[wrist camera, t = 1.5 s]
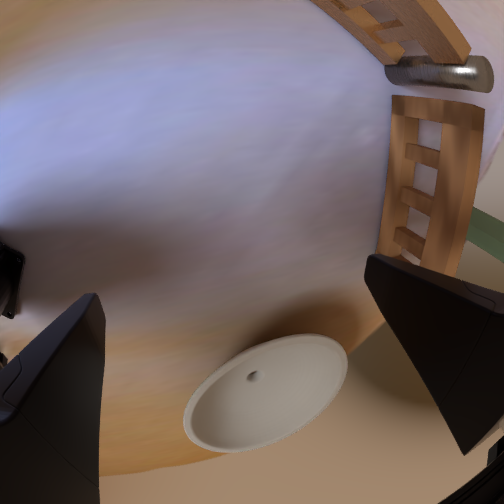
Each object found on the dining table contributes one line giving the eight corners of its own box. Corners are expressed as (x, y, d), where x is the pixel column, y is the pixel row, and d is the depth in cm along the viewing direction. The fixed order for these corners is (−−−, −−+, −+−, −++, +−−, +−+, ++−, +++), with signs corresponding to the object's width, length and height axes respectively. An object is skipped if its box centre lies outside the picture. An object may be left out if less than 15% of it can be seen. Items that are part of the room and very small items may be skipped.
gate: (391, 94, 20) (477, 105, 12) (407, 98, 20) (491, 110, 13) (372, 267, 27) (432, 321, 19) (387, 264, 27) (447, 315, 20)
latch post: (444, 210, 27) (509, 247, 19) (457, 199, 27) (521, 232, 19) (446, 227, 28) (508, 266, 21) (459, 216, 28) (519, 251, 21)
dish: (265, 422, 35) (277, 453, 30) (155, 407, 28) (158, 446, 24) (352, 318, 30) (378, 350, 26) (230, 275, 24) (246, 315, 19)
